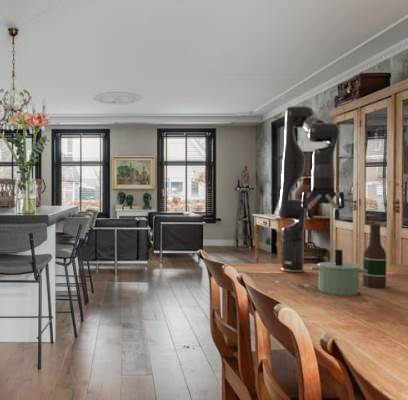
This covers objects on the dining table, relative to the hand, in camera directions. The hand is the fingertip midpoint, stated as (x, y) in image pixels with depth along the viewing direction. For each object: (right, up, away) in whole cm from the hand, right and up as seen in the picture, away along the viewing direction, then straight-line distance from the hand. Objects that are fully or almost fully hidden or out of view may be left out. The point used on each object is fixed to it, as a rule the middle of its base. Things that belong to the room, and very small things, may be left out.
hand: (322, 219), depth 164 cm
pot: (+3, -26, -5) cm, 27 cm away
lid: (+3, -17, -5) cm, 18 cm away
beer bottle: (+23, -26, +6) cm, 36 cm away
